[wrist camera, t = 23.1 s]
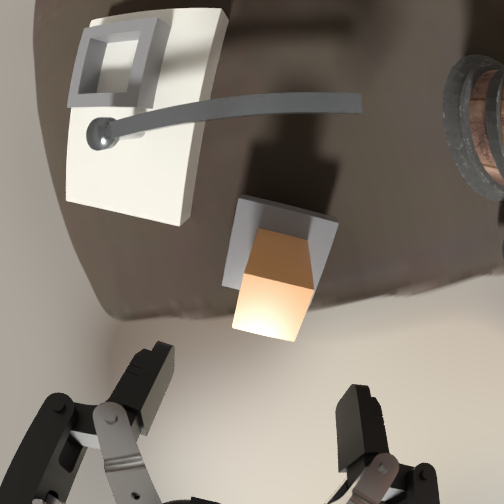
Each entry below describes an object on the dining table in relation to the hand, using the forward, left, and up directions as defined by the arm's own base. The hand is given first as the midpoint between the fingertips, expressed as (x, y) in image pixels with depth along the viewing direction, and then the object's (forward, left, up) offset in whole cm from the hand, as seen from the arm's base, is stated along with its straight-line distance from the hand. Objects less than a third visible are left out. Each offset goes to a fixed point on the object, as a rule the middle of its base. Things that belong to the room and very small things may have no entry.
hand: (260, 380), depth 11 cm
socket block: (-10, -16, -17) cm, 26 cm away
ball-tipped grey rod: (-10, -6, -9) cm, 15 cm away
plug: (0, 0, -17) cm, 17 cm away
